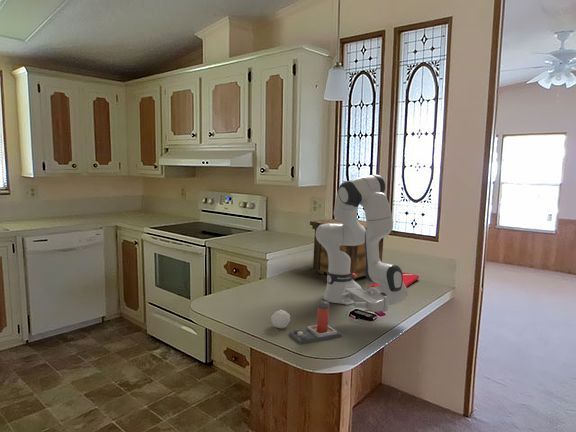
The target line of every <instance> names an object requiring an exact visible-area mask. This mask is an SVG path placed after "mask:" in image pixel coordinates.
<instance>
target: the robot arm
mask: <svg viewBox="0 0 576 432" xmlns="http://www.w3.org/2000/svg"><path fill="white" fill-rule="evenodd" d="M385 190H386V183H385V180H384V178H383V177H382V176H381V175H379V174H369V175H364V176H359V177H356V178H353V179H350V180H345V181H343V182H341V184H340V185H339V187H338V190H337V192H336V196H335V201H334V207H333V216H334V219H337V220H338V221H339V222H340V223H342V224H334V223H328V224H322V225H319V226H318V228H317V230H316V239H317V241H318V242H319V243H320V244H321V245H322V246H323V247H324V248H325V249H326V251H327V254H328V262H329V265H328V271H327V274H326V282H327V283H326V288H325V292H324V296H323V299H324V301H328V302H329V303H332V304H333V303H335V304H341V305H342V304H343V305H347V306H348V305H353V306H354V308H356V309H357V308H362V309H367V310H368V311H370V312H373V313H377V312H387V311H388V309H389V306H393V305H397V304H401V303H403V302H404V301H406V300H407V297H408V294H409V292H408V291H409V290H408V286H407V287H406V286H405V285H404V283H403V273H404V272H403V270H402V269H401V267H399V265H397V264H391V263H386V262H383V261H382V262H381V261H380V258H379V241H380V239H382V238H385V237H387V236H389V235H390V233H391V232H392V231H393V228H394V221H393V213H392V210H391V207H390V203H389V200H388V197H387V196H386V194H385V192H386V191H385ZM359 206H362V207H363V209H364V216H365V221H366V223H367V230H366V229H365V228H364V227H363V226H362V225H361V224H360V223H359V222H358V220H359V219H358V216H357V215H358V210H359ZM364 242H365V251H366V268H365V277H366V279H367V281H369V283H372V284H373V283H376V284H380V285H379V286H375V287H370V286H368V287H369V288H368V287H367V288H368V289H367V288H366V290H365V289H363V288H362V286H361V285H360V284H359V283H358V282H356V281H354V280H353V278H352V277H354V278H356V277H357V275H356V274H354V273H353V274H352V273H351V272H350V265H351V259H350V256H349V255H348V254H346V253H344V252H343V251H341V250H340V248H339V247H340V246H341V245H342V246H356V245H362V244H364ZM402 272H403V273H402ZM357 278H358V277H357ZM357 278H356V279H357Z"/></svg>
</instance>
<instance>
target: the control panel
mask: <svg viewBox="0 0 576 432" xmlns="http://www.w3.org/2000/svg"><path fill="white" fill-rule="evenodd" d="M342 334H343V333H342V332H340V331H339V330H337V329H336V328H334V327H333V326H332V325H329V324H328V330H327V332H325V333H319V332H317V324H314V325H308V326H307V327H306V328H305V329H299V328H294V329H293V330H292V331H289V332H288V335H289V336H290V337H291V338H292V339H294V340H295V341H296V342H297V344H299V345H302V344H308V343H315V342H319V341H325V340H329V339H335V338H340V337H341V338H342Z"/></svg>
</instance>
